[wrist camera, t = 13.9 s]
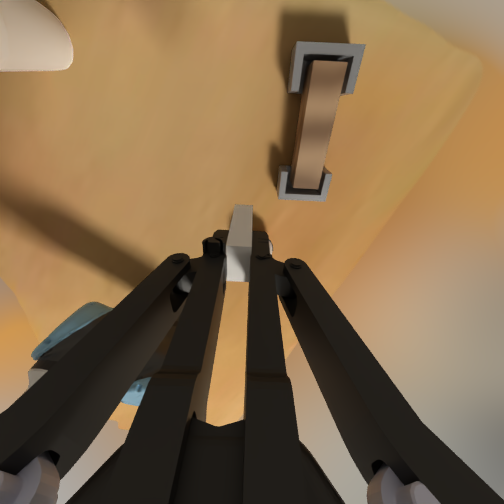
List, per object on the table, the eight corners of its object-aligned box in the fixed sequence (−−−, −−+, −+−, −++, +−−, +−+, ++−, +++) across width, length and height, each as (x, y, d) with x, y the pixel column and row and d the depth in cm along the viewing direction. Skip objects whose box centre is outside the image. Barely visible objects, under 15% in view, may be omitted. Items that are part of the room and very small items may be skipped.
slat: (311, 180, 36) (318, 189, 32) (289, 179, 36) (293, 187, 32) (334, 69, 28) (347, 62, 24) (306, 67, 28) (313, 60, 24)
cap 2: (318, 192, 38) (325, 201, 34) (276, 190, 38) (278, 199, 34) (324, 167, 35) (332, 174, 32) (279, 165, 35) (281, 171, 32)
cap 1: (291, 50, 27) (296, 41, 23) (351, 53, 27) (365, 44, 23) (287, 93, 30) (291, 90, 26) (341, 95, 30) (353, 93, 26)
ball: (276, 248, 46) (278, 269, 40) (245, 257, 47) (244, 278, 41) (261, 209, 40) (261, 226, 34) (228, 221, 42) (222, 239, 36)
